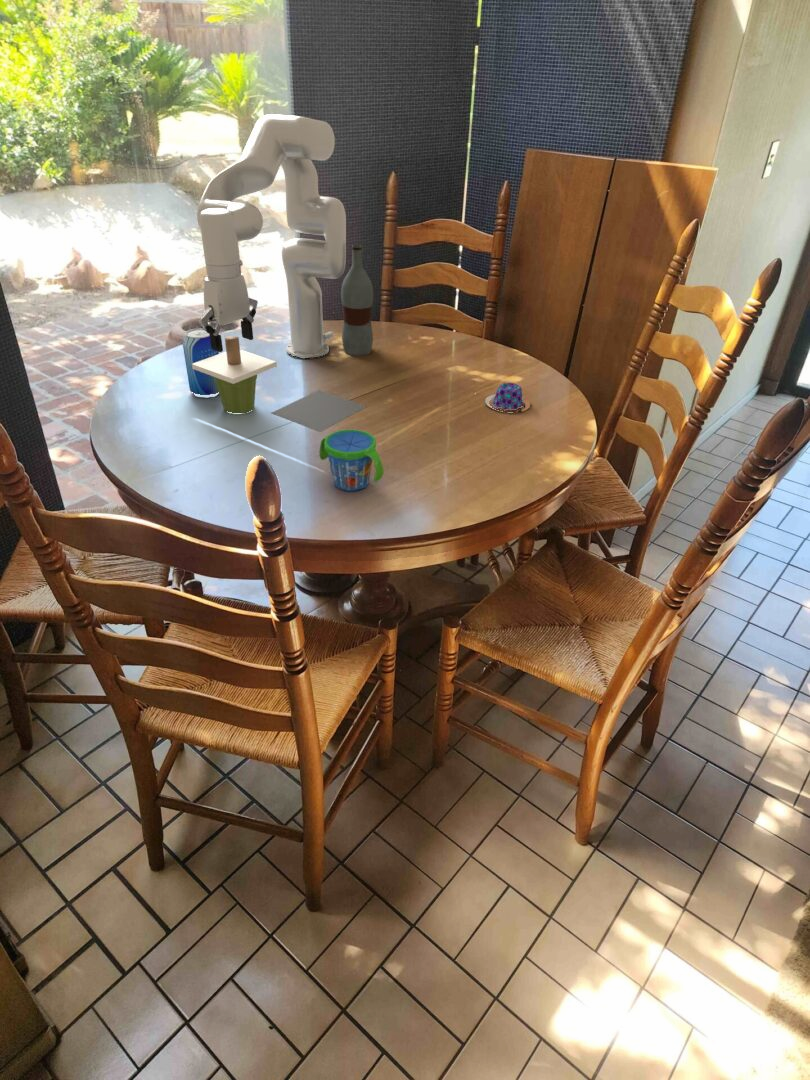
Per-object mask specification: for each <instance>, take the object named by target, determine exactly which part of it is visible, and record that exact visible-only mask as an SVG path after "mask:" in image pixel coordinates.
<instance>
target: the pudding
mask: <svg viewBox="0 0 810 1080" xmlns="http://www.w3.org/2000/svg"><path fill="white" fill-rule="evenodd" d="M522 390H523V389H522V386H520V385H518V384H517V383H515V382H513V383H511V382H506V383H505V382H504V383H503V382H502V383H501V384H500V385H499V386H498V387H497V390H496V393H494V394H493V393H492V394H491V395H488V397H486V398H485V400H484V401H485V404H486V405H487V406H488V407H489V408H491V409H493V410H496V409H494V408H492V406H490V404H489V401H490V400H491V399H492V398H493V397H494V396H495V397H494V400H493V403H492V405H494V404H495V405H494V407H495V406H496V407H502V408H503V409H510V408H511V409H517V408H518V407H521V406H523V407H524V404H523V398H522V397H523V391H522ZM496 407H495V408H496ZM496 411H499V410H496ZM499 412H500V411H499ZM501 412H503V411H501ZM503 413H504V412H503ZM508 413H511V414H512V413H513V412H508ZM513 414H514V413H513Z"/></svg>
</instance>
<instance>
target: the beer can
mask: <svg viewBox="0 0 810 1080" xmlns="http://www.w3.org/2000/svg"><path fill="white" fill-rule="evenodd" d="M182 347H183V354H184V362H185V368H186V374H187V379H188V387H189V391H190V392H191V393H192V392H193V393H195V394H200V395H210V394H216V393H218V392H219V391H218V387H217V384H216V382H215V380H214V377H213V376H211V375H208V374H205V373H203V372H200V371H197V370H195V369H193V368H192V364H193V363H196V362H198V361H201V360H204V359H207V358H209V357H212V356H215V355H218V354H220V352H218V351H215V350H213V349H212V348H211V342H210V335H209V334H208V333H207V332H206V331H205V330H204V329H202V327H200V328H192V329H188V330H187V331H185V333H184V338H183V340H182ZM193 393H192V394H193Z"/></svg>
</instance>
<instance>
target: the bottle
mask: <svg viewBox="0 0 810 1080" xmlns="http://www.w3.org/2000/svg"><path fill="white" fill-rule="evenodd" d="M351 247H352V248H351V249H352V251H351V253H352V259H351V260H352V261H351V263H352V264H351V267H350V269H349V270H348V272H347V273H346V276H345V277H344V278H343V281H342V284H341V291H340V298H341V304H342V315H343V316H342V317H343V324H342V330H341V331H342V332H341V333H342V335H341V342H342V348H343V351H344V353H346V355H349V356H358V357H361V356H366V355H369V354H370V353H371V351H372V347H373V341H374V335H373V326H372V315H373V313H372V312H373V301H374V290H373V289H374V287H373V283H372V281H371V278H370V277H369V275H368V274H367V272H366V270H365V269H364V267H363V266H362V265H363V262H362V261H363V260H362V259H363V255H362V248H363V247H362V245H361V244H352V246H351Z"/></svg>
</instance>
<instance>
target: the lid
mask: <svg viewBox="0 0 810 1080" xmlns="http://www.w3.org/2000/svg"><path fill="white" fill-rule="evenodd" d="M224 342H225V343H224V345H225V350H226V351H224V352H223V351H222V352H219V354H218V355H215V356H212V357H209V358H207V359H204V360H201V361H198V362H196V363H193V364H192V368H193V369H195V370H197V371H200V372H203V373H205V374H208V375H211V376H213V377H216V378H219V379H221V380H224V381H227V382H229V383H232V384H235V383H237V382H240V381H242V380H244V379H247V378H249V377H252V376H254V375H257V376H258V375H259V374H262V373H264V372H267V371H269V370H271V369H274V368H277V361H276V360H272V359H269V358H267V357H265V356H261V355H258V354H255V353H252V352H249V351H246V350H243V349H240V337H239V336H237V335H228V336H226V337H224Z"/></svg>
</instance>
